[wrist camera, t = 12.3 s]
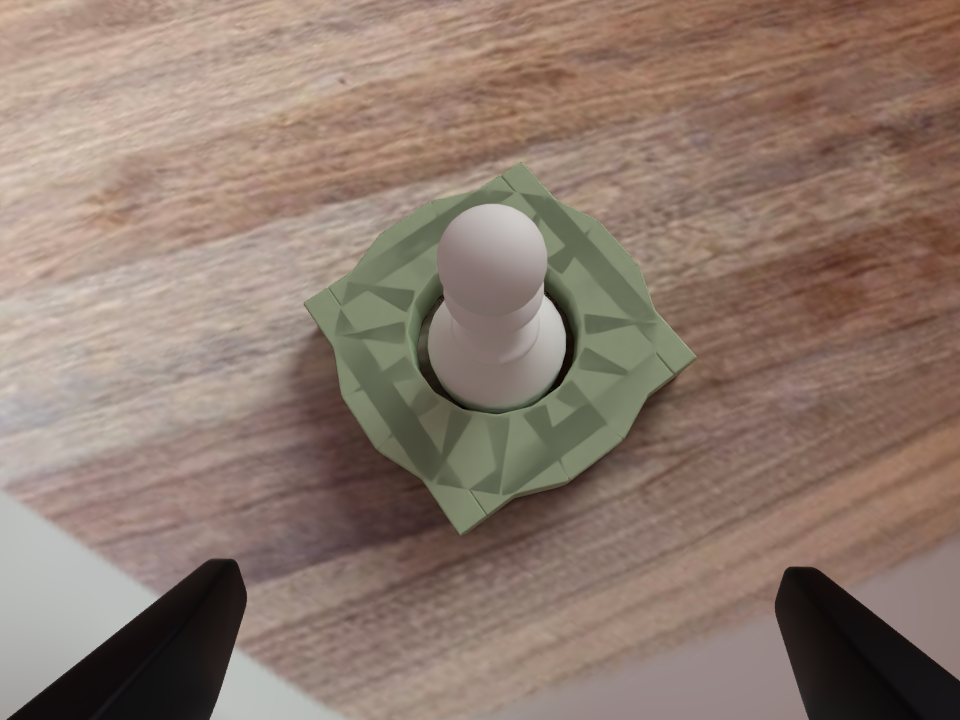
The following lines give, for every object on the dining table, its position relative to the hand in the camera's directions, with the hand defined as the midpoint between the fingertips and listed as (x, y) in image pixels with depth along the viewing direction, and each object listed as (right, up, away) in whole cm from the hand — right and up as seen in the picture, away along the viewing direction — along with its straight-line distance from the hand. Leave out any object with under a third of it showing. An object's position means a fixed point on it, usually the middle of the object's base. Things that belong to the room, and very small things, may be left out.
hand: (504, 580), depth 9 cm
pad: (0, +4, +12) cm, 13 cm away
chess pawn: (0, +4, +13) cm, 13 cm away
